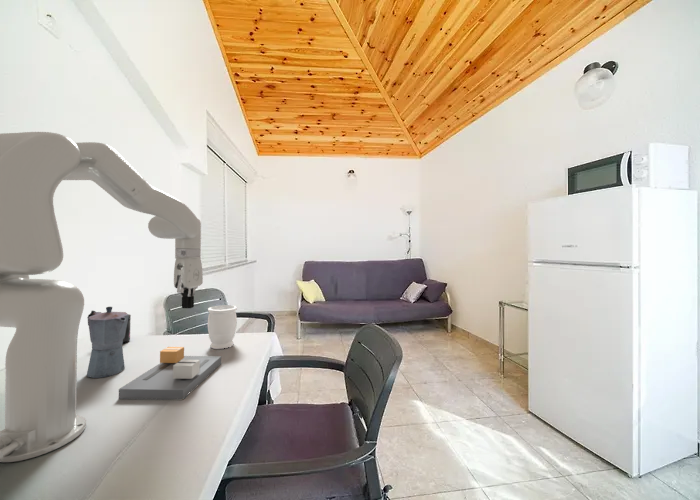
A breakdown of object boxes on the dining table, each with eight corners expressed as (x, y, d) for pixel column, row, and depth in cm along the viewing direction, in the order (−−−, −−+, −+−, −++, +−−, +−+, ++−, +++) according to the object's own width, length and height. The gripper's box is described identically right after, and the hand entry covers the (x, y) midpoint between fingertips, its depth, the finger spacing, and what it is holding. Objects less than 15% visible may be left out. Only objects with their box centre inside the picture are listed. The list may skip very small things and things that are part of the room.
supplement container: (131, 343, 111) (131, 316, 111) (108, 346, 106) (108, 319, 106) (129, 338, 116) (130, 313, 116) (108, 342, 111) (108, 315, 111)
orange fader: (176, 363, 86) (176, 351, 86) (159, 362, 86) (160, 351, 86) (183, 357, 90) (184, 346, 90) (168, 357, 90) (168, 346, 90)
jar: (242, 344, 111) (242, 307, 111) (217, 352, 103) (218, 311, 103) (225, 339, 117) (226, 303, 117) (201, 346, 108) (202, 307, 108)
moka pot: (108, 382, 79) (109, 311, 79) (66, 376, 82) (67, 307, 82) (140, 368, 89) (141, 304, 88) (101, 363, 92) (102, 301, 92)
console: (182, 399, 71) (183, 389, 71) (118, 399, 71) (118, 388, 71) (221, 363, 93) (221, 356, 93) (172, 363, 93) (172, 355, 93)
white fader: (191, 378, 76) (192, 365, 76) (173, 378, 76) (173, 365, 76) (199, 372, 80) (199, 359, 80) (181, 371, 80) (181, 359, 80)
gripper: (187, 255, 88) (186, 313, 89) (209, 253, 103) (209, 303, 104) (162, 254, 88) (162, 313, 88) (189, 253, 103) (188, 303, 103)
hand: (187, 307), depth 96 cm, fingers closed
